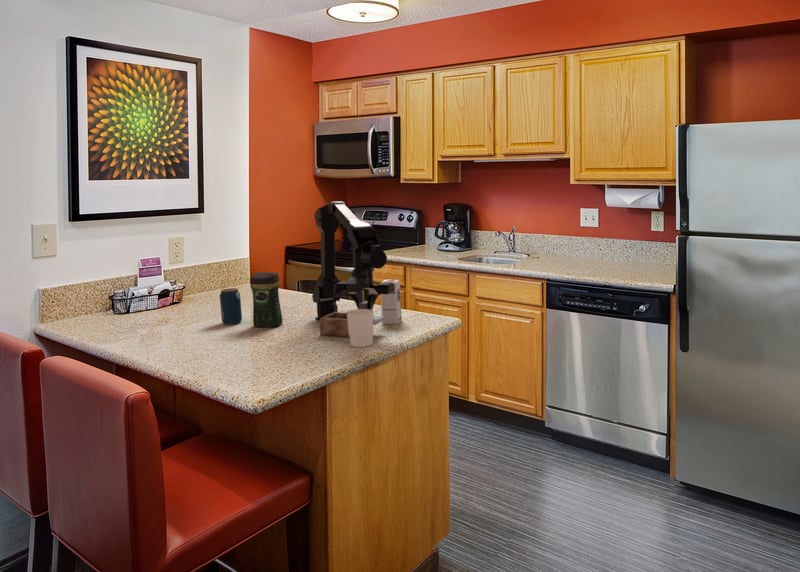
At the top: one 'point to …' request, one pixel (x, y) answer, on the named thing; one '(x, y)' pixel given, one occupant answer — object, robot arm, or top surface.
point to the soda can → (230, 306)
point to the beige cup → (360, 327)
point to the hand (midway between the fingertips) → (365, 314)
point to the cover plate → (375, 318)
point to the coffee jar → (266, 299)
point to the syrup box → (391, 304)
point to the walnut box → (334, 325)
